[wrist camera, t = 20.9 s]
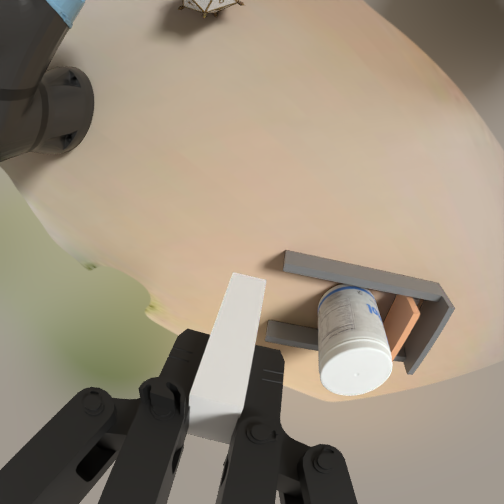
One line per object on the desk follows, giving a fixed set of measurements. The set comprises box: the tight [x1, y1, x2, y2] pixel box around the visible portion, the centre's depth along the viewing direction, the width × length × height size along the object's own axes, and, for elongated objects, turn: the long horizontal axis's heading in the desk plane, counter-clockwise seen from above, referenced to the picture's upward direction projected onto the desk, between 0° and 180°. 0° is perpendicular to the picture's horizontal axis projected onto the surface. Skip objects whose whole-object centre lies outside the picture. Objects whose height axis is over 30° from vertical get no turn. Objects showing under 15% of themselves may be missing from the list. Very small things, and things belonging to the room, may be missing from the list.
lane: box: [265, 250, 455, 375], centre depth 42 cm, size 26×14×7 cm, turn 81°
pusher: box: [383, 294, 420, 362], centre depth 41 cm, size 4×11×7 cm, turn 171°
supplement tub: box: [318, 284, 392, 396], centre depth 38 cm, size 10×10×15 cm
